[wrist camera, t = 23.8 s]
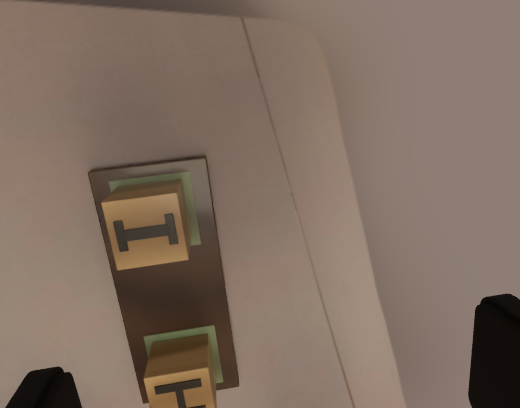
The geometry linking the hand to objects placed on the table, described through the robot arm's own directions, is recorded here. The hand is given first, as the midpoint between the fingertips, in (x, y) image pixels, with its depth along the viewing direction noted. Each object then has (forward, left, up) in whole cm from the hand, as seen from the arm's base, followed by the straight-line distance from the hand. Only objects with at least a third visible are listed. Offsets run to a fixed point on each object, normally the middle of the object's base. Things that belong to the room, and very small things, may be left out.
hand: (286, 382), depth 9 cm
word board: (+9, -6, -24) cm, 26 cm away
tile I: (+2, -6, -23) cm, 24 cm away
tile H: (+16, -6, -23) cm, 29 cm away
